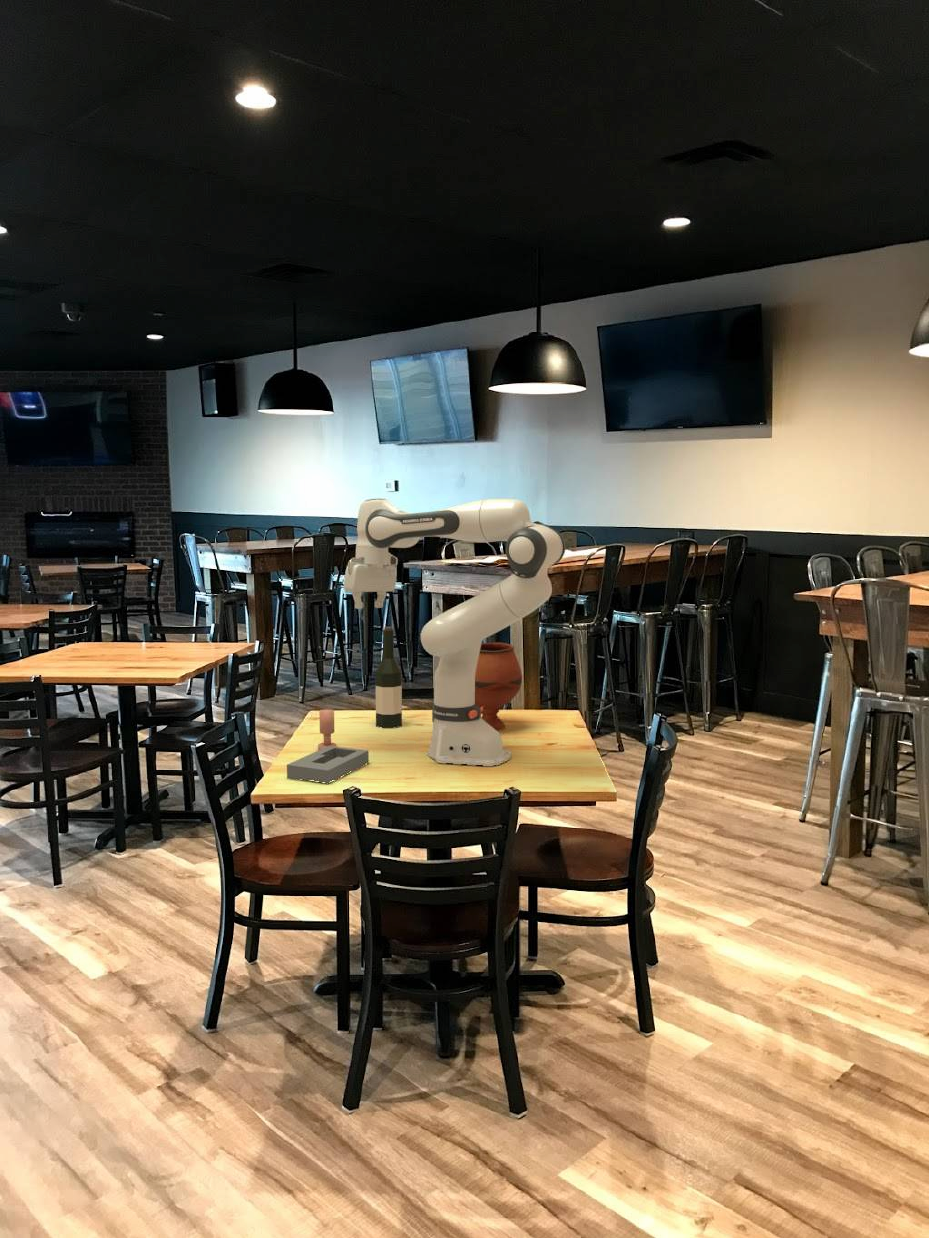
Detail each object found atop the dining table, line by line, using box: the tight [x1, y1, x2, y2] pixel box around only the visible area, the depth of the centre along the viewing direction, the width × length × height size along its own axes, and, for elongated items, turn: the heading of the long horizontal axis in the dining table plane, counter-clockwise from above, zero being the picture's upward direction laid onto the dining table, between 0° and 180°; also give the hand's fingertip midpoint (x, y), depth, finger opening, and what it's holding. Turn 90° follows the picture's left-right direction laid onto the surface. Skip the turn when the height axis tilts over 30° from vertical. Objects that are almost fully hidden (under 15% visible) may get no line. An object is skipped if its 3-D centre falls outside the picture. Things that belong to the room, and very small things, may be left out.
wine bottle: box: [374, 626, 403, 729], centre depth 304 cm, size 8×8×30 cm
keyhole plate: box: [286, 745, 370, 783], centre depth 258 cm, size 20×12×4 cm, turn 156°
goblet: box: [475, 642, 523, 731], centre depth 302 cm, size 19×19×25 cm
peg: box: [317, 709, 337, 751], centre depth 278 cm, size 5×5×11 cm
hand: (368, 608), depth 278 cm, fingers open, 8 cm apart
